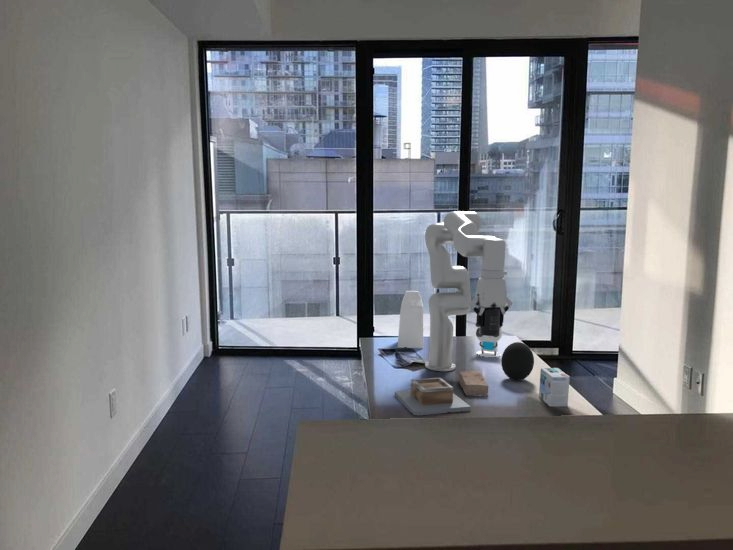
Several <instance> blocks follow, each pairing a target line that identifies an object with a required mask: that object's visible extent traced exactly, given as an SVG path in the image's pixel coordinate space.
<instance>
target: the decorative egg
mask: <svg viewBox="0 0 733 550" xmlns="http://www.w3.org/2000/svg"><path fill="white" fill-rule="evenodd" d="M534 364H535V357H534V353H533V351H532V350H531V347H529V345H527V344H525V343H524V342H521V341H516V342H513V343H510V344H509V345H507V346H506V347H505V349H504V351H502V356H501V364H500V365H501V367H502V368H501V369H502V371H503V373H504V374H505V376H506V377H507V378H508V379H510V380H512V381H522V380H524V379H526V378H528V377H529V376H530V374H531V373H532V371H533V368H534V366H535V365H534Z"/></svg>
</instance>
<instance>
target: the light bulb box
mask: <svg viewBox="0 0 733 550" xmlns="http://www.w3.org/2000/svg"><path fill="white" fill-rule="evenodd" d="M539 375H540V376H539V389H538V390H539V391H538V397H539V398H540V399H541V400H543V402H544V403H545V404H546V405H547V406H549V407H568V404H569V389H570V380H571V379H570V378H571V376H570V375H568V374H567V373H565V372H564V371H562V369H560V368H559V367H540V374H539Z"/></svg>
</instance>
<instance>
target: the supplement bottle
mask: <svg viewBox="0 0 733 550" xmlns="http://www.w3.org/2000/svg"><path fill="white" fill-rule="evenodd" d="M490 306H492V307H490V308H485V309H484V311H483V313H482V315H483V326H482V327H480V334H482V335H486V336H497V335H499V332H500V309H499V308H498V307H495V306H497V305H496V303H495V302H494V304H492V305H490Z"/></svg>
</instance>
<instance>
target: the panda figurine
mask: <svg viewBox="0 0 733 550" xmlns="http://www.w3.org/2000/svg"><path fill="white" fill-rule="evenodd" d="M503 325H504V324H503ZM503 325H502V326H500V332H499V335H497V336H486V335H482V334H480V326H478V325H477V323H476V322H475V327H477V329H476V331H475V336H476V338H477V340H478V341H479V343H478V344H479V346H480V347H481V349H480V350H477V351H476V353H475V355H477V354H478V355H477V356H479V355H480V357H482V356H484V357H483V358H488V357H496V358H500V357H499V356H496V354H497V353H498V352H499V351H498V348H499V347H498V345H499V343H498V342H499V341H500V340H501V338H502V336H503V329H502V327H503ZM501 354H502V353H501ZM501 354H500V356H501ZM501 357H502V356H501Z"/></svg>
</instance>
